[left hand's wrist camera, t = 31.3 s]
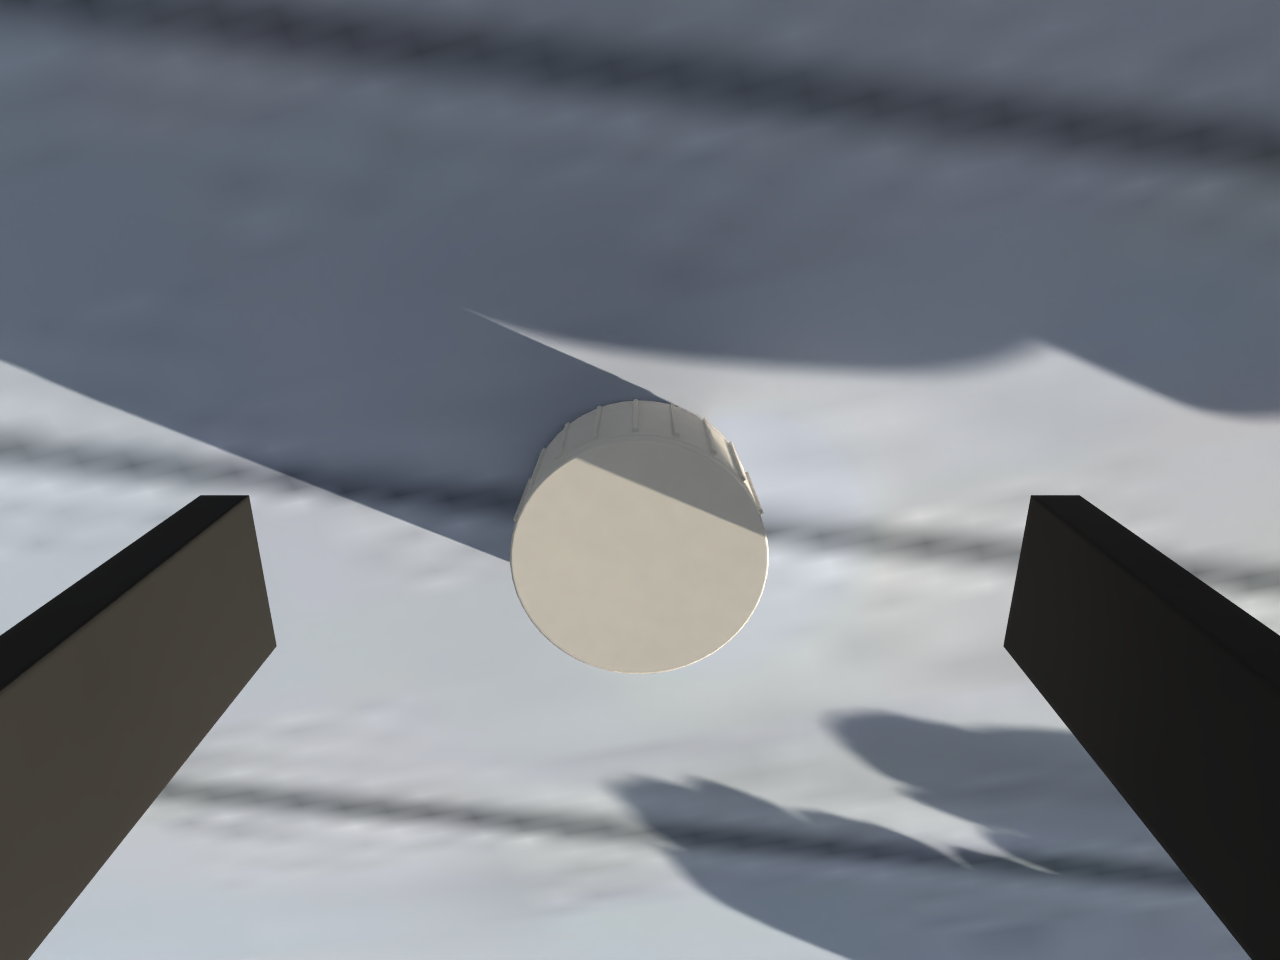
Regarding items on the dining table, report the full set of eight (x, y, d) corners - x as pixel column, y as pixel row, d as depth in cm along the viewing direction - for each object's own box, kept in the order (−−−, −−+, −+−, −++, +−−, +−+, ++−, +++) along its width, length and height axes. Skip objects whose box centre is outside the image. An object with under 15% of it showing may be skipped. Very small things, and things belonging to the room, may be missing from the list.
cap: (537, 384, 15) (517, 422, 12) (769, 412, 15) (794, 455, 13) (519, 592, 16) (499, 662, 14) (731, 615, 16) (746, 688, 14)
